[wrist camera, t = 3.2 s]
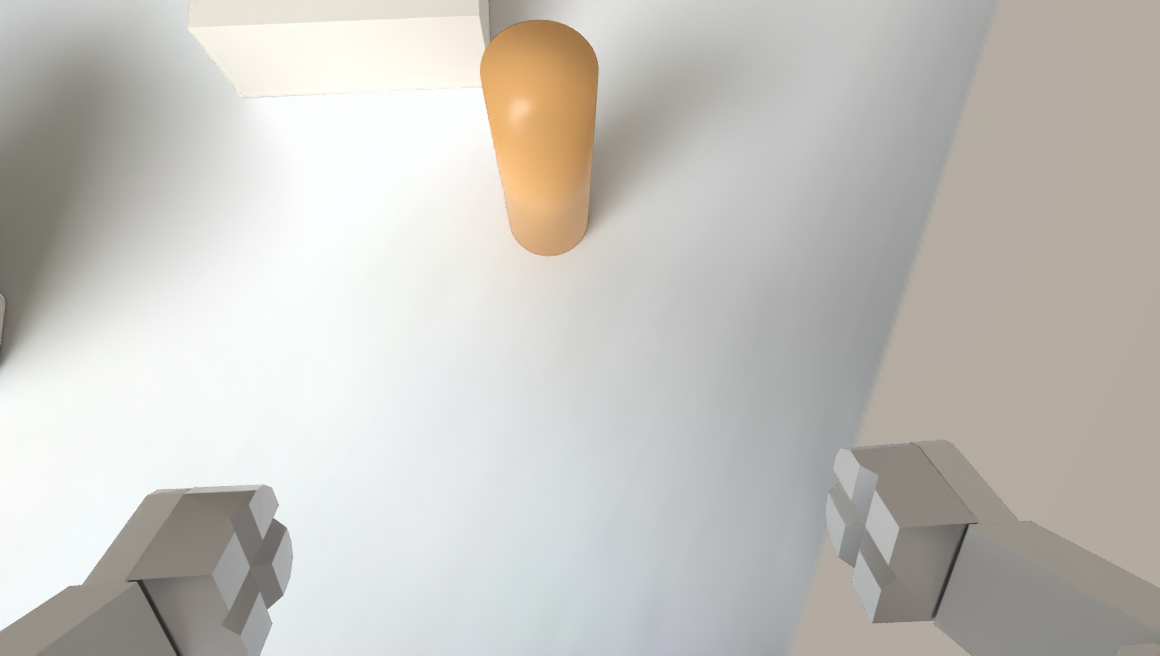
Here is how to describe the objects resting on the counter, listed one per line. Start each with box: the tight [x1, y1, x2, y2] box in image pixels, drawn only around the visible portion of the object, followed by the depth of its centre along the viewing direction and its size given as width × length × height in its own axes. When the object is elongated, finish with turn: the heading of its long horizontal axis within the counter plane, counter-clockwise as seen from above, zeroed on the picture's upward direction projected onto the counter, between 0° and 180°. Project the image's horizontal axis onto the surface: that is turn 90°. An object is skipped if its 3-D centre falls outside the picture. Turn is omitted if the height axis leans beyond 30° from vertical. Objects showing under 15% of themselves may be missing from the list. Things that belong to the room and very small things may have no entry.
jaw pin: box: [480, 20, 598, 256], centre depth 21 cm, size 3×3×9 cm
